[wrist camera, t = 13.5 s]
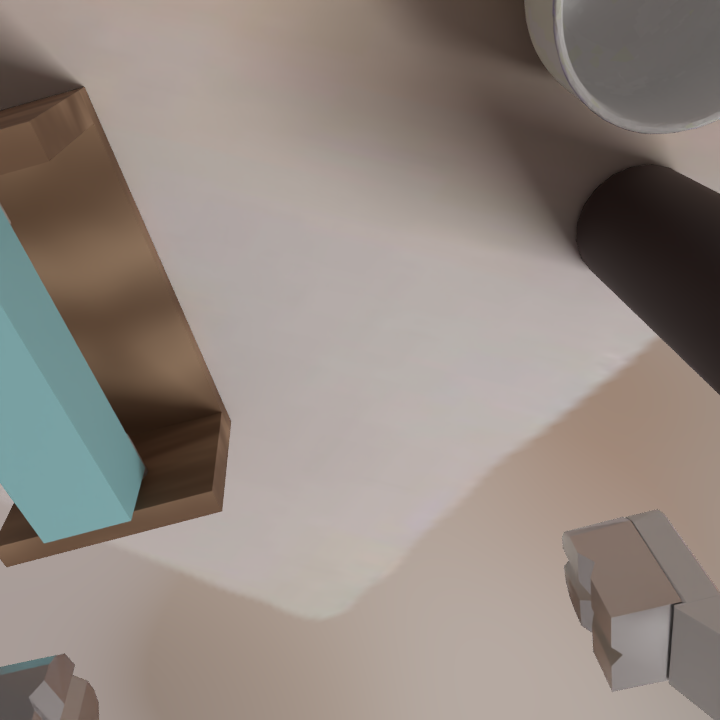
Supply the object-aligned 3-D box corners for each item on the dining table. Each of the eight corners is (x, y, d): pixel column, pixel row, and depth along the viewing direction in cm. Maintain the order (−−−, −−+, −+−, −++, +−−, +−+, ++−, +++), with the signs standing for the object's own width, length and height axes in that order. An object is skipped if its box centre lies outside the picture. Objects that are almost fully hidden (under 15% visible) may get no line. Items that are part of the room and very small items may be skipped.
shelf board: (-114, 213, 27) (-170, 248, 24) (-12, 185, 27) (-53, 216, 24) (66, 488, 36) (44, 543, 32) (145, 467, 36) (131, 520, 32)
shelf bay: (-156, 154, 31) (-278, 207, 24) (84, 87, 31) (29, 121, 24) (50, 469, 42) (6, 567, 35) (231, 421, 41) (221, 511, 35)
